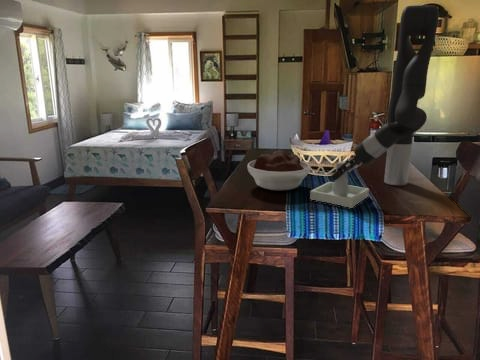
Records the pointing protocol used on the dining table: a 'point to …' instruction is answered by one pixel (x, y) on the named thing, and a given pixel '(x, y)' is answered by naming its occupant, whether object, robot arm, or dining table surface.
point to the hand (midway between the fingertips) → (336, 176)
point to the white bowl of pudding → (278, 171)
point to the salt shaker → (341, 183)
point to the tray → (327, 195)
